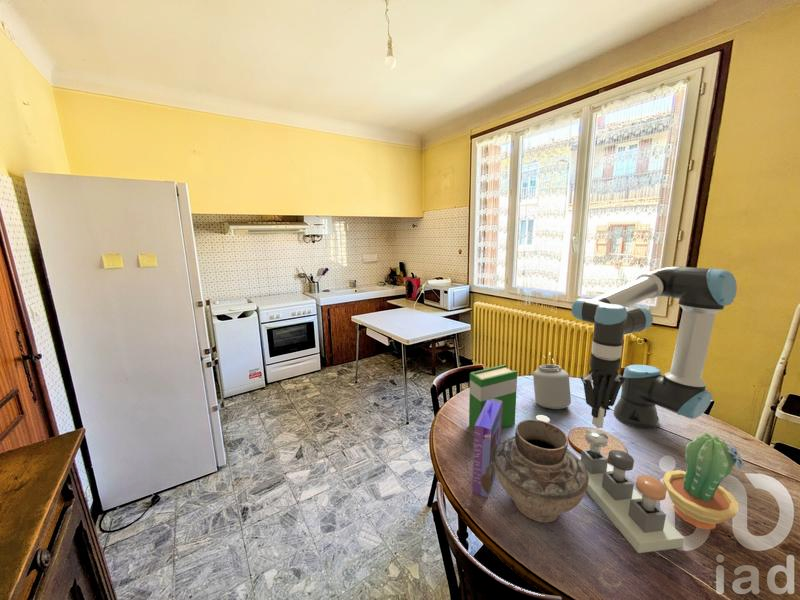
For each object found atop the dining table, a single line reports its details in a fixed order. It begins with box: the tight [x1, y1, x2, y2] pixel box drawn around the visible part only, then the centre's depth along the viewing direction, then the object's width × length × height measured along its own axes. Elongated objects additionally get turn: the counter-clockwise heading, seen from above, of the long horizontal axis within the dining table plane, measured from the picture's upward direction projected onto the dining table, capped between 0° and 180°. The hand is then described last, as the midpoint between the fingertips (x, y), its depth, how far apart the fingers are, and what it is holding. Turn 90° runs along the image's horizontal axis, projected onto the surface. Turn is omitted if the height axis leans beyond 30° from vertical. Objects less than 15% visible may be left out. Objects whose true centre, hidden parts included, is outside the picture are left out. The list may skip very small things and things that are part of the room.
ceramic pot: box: [493, 419, 589, 523], centre depth 91 cm, size 25×25×24 cm
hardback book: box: [468, 364, 518, 430], centre depth 129 cm, size 18×7×24 cm, turn 112°
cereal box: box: [472, 398, 503, 499], centre depth 102 cm, size 17×5×24 cm, turn 152°
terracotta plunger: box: [635, 474, 668, 512], centre depth 81 cm, size 6×6×7 cm
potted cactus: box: [662, 433, 746, 531], centre depth 85 cm, size 15×15×25 cm
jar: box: [532, 351, 572, 410], centre depth 143 cm, size 19×15×25 cm
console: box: [577, 448, 685, 554], centre depth 93 cm, size 12×30×8 cm, turn 5°
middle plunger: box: [607, 449, 635, 481], centre depth 91 cm, size 6×6×7 cm
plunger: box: [584, 428, 609, 457], centre depth 101 cm, size 6×6×7 cm
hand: (597, 425), depth 99 cm, fingers closed
